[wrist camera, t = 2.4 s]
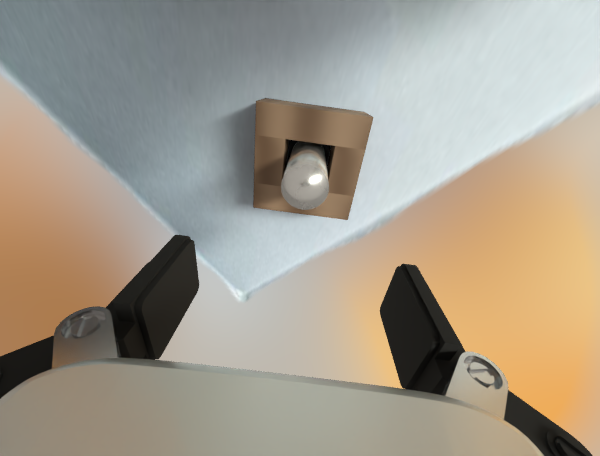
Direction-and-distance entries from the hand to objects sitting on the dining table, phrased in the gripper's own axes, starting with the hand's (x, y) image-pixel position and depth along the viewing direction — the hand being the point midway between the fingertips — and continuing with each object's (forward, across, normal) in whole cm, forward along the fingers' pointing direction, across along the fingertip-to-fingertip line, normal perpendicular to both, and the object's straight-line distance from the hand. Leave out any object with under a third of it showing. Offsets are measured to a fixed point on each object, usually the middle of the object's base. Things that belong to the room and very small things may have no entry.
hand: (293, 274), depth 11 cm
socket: (+22, 0, 0) cm, 22 cm away
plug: (+22, 0, 0) cm, 22 cm away
